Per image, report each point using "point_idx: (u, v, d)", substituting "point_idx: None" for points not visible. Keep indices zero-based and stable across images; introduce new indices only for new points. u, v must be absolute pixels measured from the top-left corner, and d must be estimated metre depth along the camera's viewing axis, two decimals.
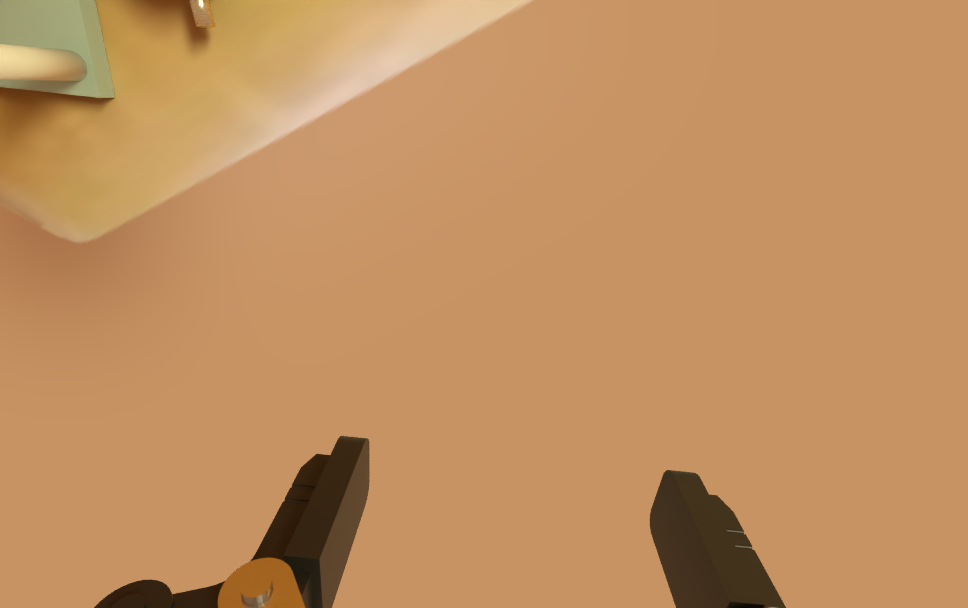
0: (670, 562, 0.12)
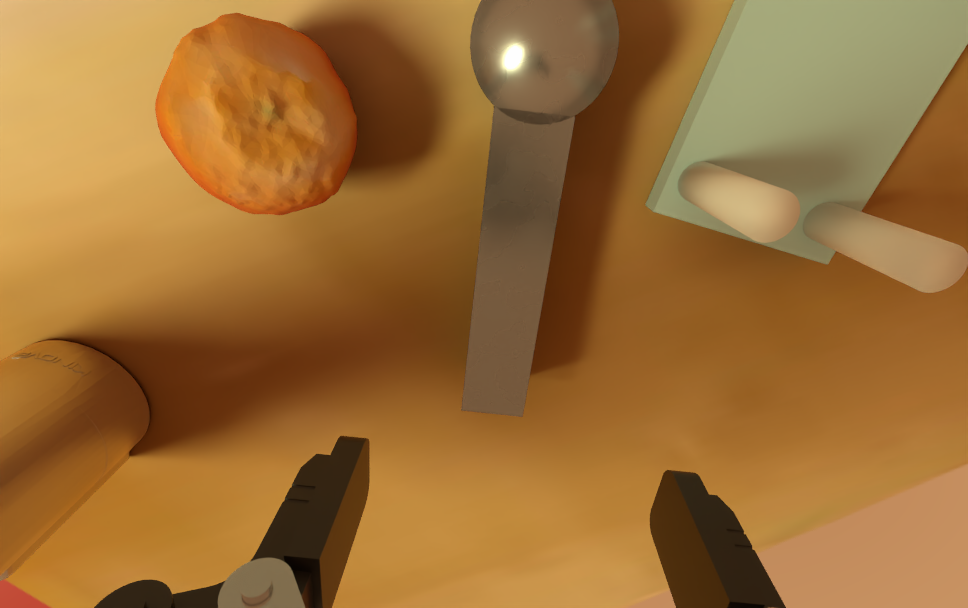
0: (670, 562, 0.12)
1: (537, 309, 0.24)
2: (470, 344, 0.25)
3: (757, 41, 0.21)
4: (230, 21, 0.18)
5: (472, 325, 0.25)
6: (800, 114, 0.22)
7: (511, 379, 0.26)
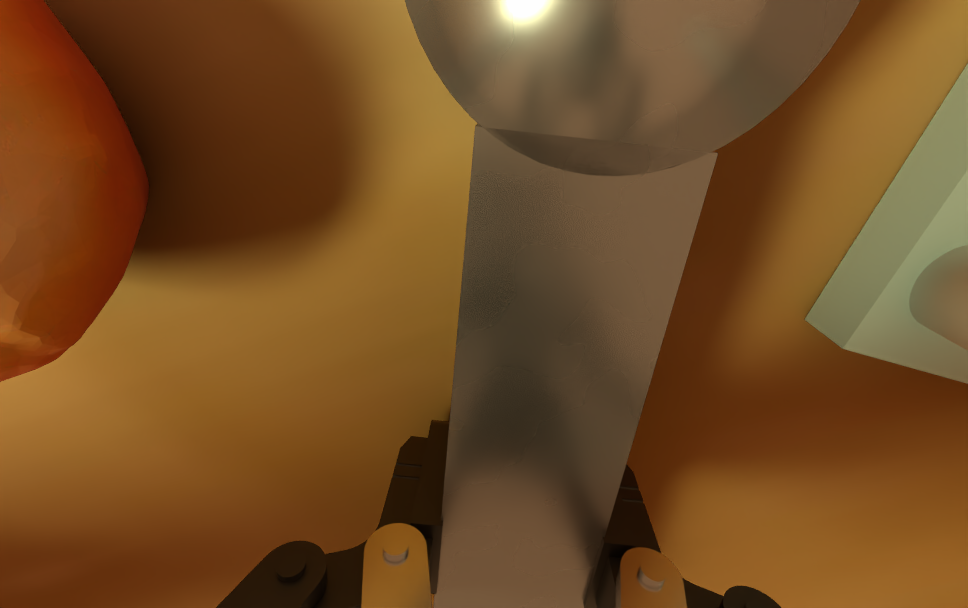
0: None
1: (583, 577, 0.11)
2: None
3: None
4: None
5: (438, 601, 0.11)
6: None
7: None
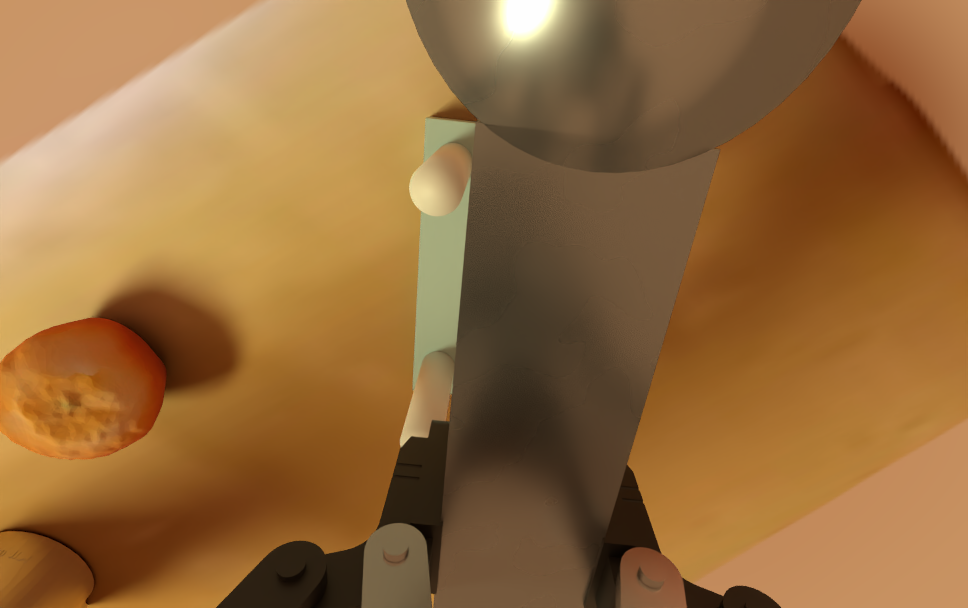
0: None
1: (584, 577, 0.11)
2: None
3: (439, 267, 0.26)
4: (28, 347, 0.25)
5: (438, 600, 0.11)
6: None
7: None
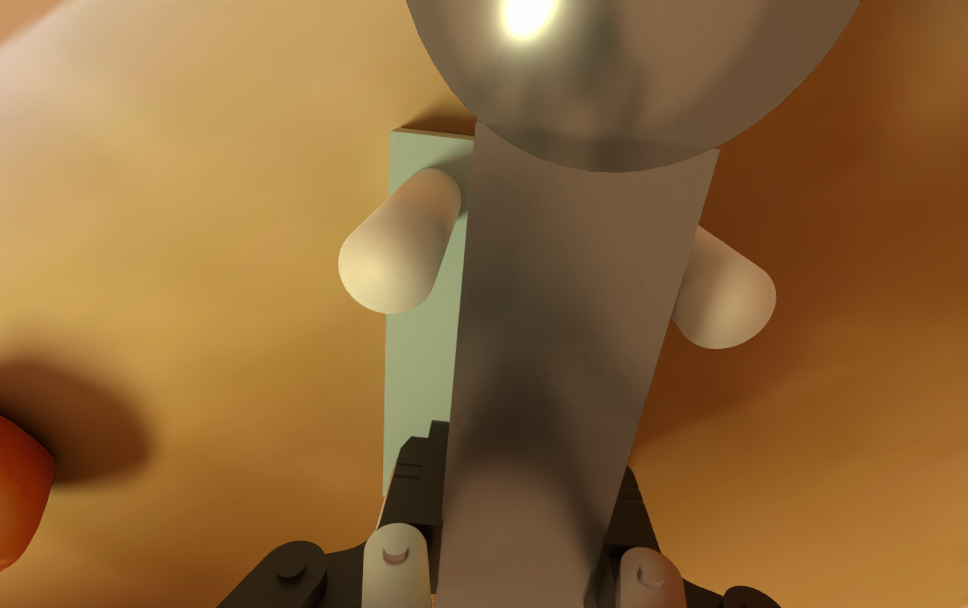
0: None
1: (584, 577, 0.11)
2: None
3: (416, 342, 0.18)
4: None
5: (438, 600, 0.11)
6: None
7: None
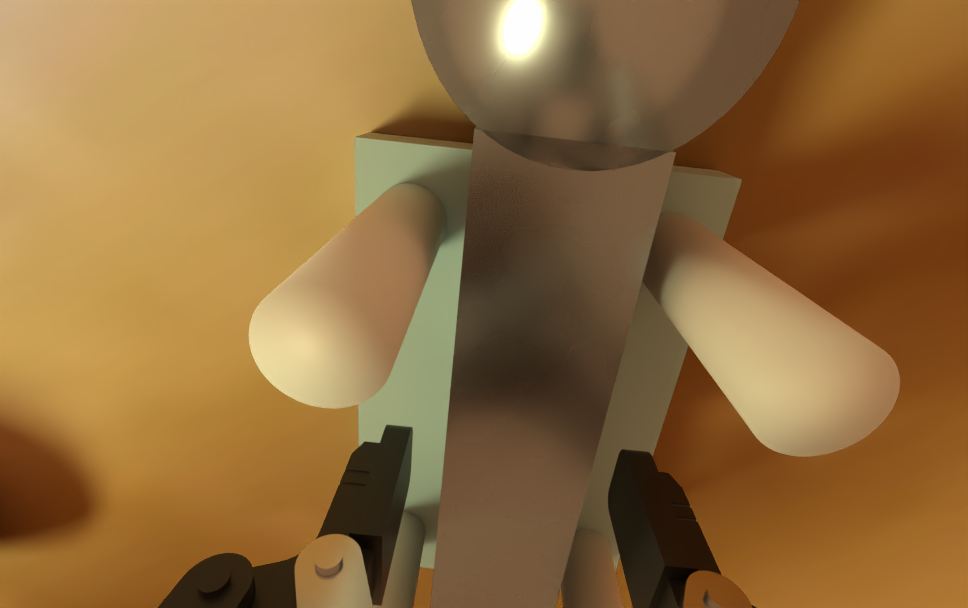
0: (622, 535, 0.12)
1: (568, 528, 0.12)
2: (436, 579, 0.13)
3: (394, 390, 0.15)
4: None
5: (439, 550, 0.12)
6: None
7: None
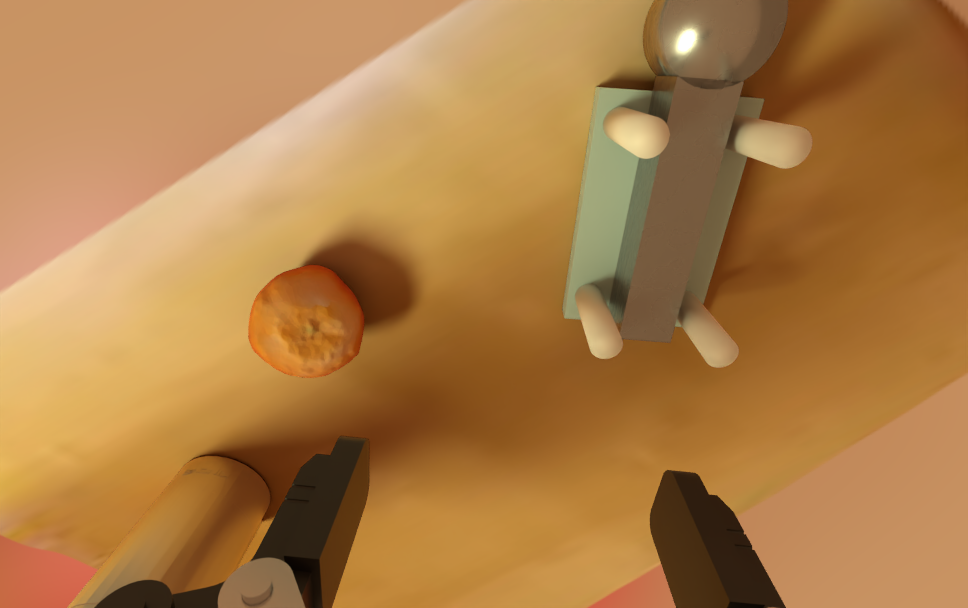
0: (670, 562, 0.12)
1: (693, 247, 0.29)
2: (633, 280, 0.30)
3: (598, 212, 0.32)
4: (279, 285, 0.32)
5: (637, 263, 0.29)
6: None
7: (664, 309, 0.31)
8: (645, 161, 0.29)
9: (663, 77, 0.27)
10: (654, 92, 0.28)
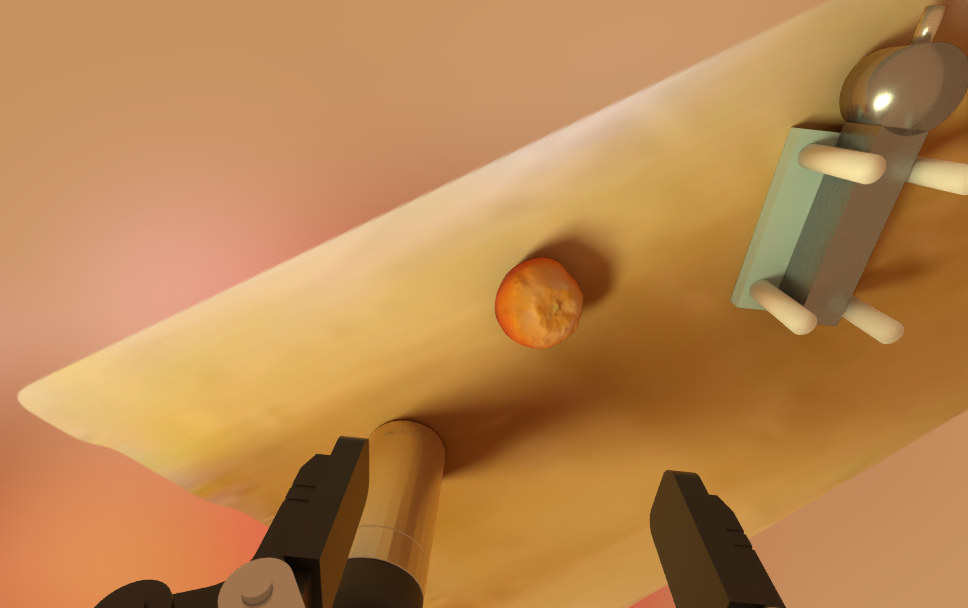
0: (670, 562, 0.12)
1: (869, 251, 0.38)
2: (818, 275, 0.39)
3: (781, 223, 0.41)
4: (534, 271, 0.40)
5: (823, 262, 0.38)
6: None
7: (837, 299, 0.40)
8: (832, 185, 0.38)
9: (858, 124, 0.36)
10: (843, 134, 0.38)
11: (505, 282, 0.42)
